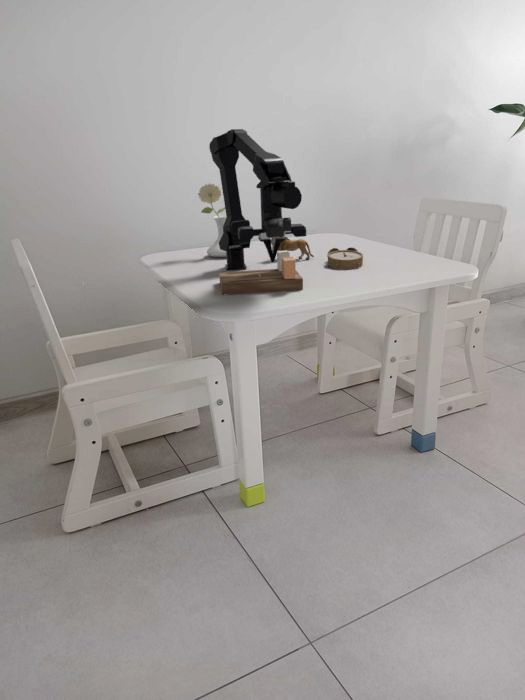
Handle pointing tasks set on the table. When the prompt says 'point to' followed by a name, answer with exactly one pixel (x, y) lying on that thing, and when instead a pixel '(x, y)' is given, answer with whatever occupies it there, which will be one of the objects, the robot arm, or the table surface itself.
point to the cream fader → (279, 258)
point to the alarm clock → (345, 258)
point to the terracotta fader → (288, 268)
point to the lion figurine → (295, 246)
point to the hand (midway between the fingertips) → (272, 262)
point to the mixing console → (258, 281)
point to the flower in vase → (212, 195)
